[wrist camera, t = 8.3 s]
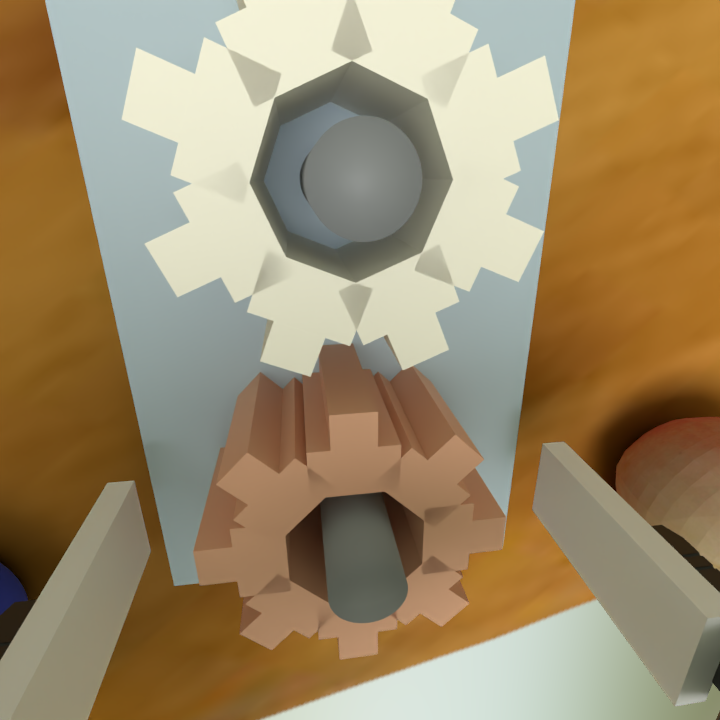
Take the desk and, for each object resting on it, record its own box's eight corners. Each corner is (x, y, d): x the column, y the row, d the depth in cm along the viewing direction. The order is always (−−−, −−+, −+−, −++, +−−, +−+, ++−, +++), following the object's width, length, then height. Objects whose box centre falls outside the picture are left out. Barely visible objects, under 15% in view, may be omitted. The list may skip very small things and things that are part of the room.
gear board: (182, 557, 20) (118, 780, 13) (57, -50, 12) (-303, -399, 5) (489, 523, 22) (590, 701, 14) (553, -28, 14) (849, -261, 6)
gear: (270, 358, 16) (261, 434, 11) (119, 89, 12) (15, 36, 8) (503, 252, 15) (593, 284, 11) (414, -53, 12) (491, -197, 7)
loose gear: (206, 352, 15) (169, 428, 11) (456, 337, 16) (521, 400, 12) (235, 552, 18) (217, 677, 14) (443, 528, 19) (490, 638, 15)
